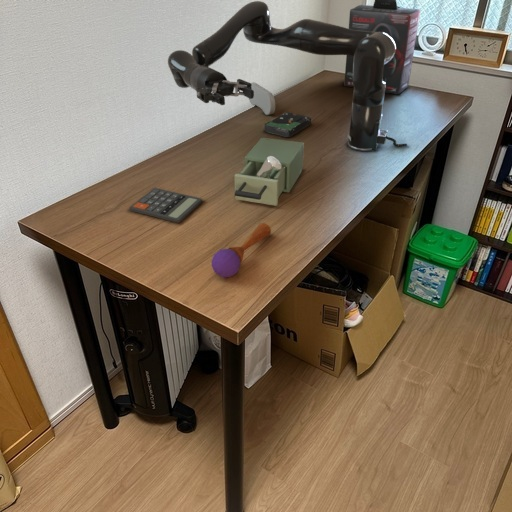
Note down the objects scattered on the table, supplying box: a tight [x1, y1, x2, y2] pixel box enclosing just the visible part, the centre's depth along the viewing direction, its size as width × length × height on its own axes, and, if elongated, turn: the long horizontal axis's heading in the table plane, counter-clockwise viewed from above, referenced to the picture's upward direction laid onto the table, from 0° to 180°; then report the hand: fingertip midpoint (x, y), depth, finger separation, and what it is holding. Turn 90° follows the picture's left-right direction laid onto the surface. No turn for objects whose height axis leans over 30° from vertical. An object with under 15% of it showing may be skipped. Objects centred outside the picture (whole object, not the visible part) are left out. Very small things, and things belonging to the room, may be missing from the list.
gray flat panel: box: [248, 82, 276, 116], centre depth 183 cm, size 20×2×8 cm, turn 26°
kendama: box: [211, 222, 272, 278], centre depth 108 cm, size 6×6×20 cm
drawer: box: [233, 161, 287, 207], centre depth 128 cm, size 19×11×7 cm, turn 161°
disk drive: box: [263, 111, 312, 138], centre depth 169 cm, size 10×3×15 cm
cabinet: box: [244, 137, 305, 193], centre depth 138 cm, size 14×13×9 cm
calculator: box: [129, 187, 203, 224], centre depth 128 cm, size 12×1×15 cm
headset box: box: [343, 0, 421, 95], centre depth 196 cm, size 25×12×33 cm, turn 57°
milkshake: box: [254, 156, 288, 179], centre depth 128 cm, size 4×5×10 cm
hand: (238, 98), depth 125 cm, fingers open, 8 cm apart
